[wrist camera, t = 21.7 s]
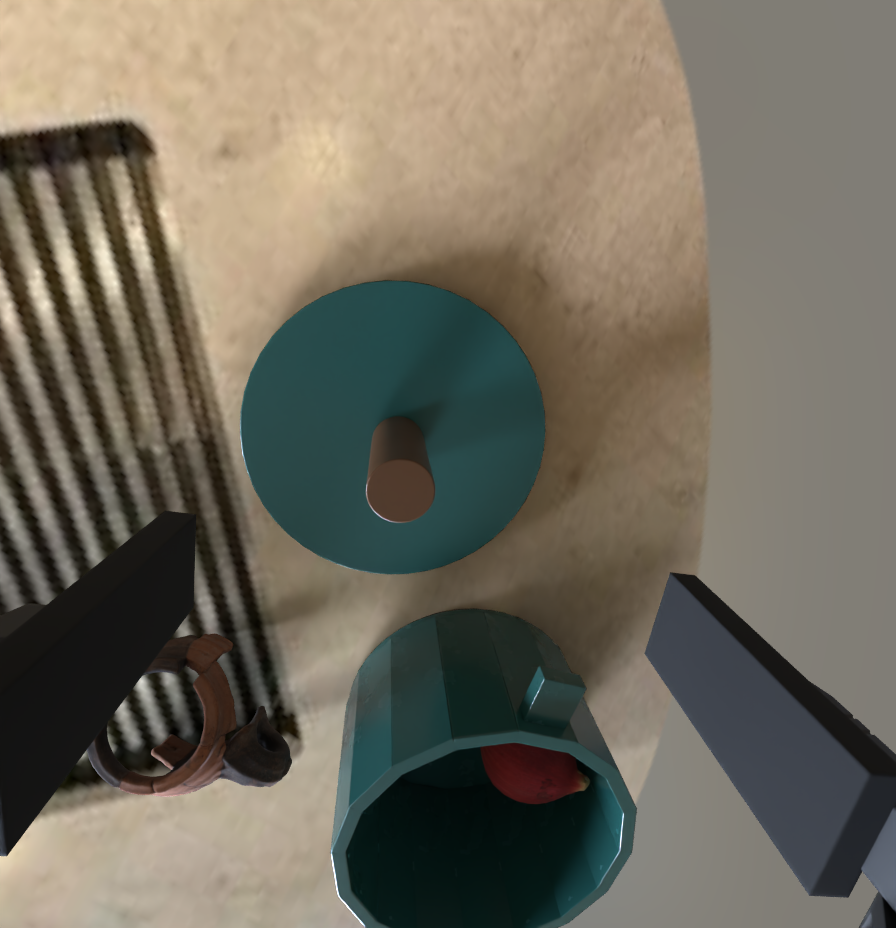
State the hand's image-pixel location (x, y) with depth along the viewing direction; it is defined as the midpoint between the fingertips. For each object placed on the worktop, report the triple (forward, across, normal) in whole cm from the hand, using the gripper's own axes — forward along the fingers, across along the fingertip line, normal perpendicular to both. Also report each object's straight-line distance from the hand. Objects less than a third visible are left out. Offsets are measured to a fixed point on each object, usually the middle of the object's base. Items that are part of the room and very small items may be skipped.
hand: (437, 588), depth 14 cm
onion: (+17, +7, -20) cm, 27 cm away
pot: (+18, +6, -20) cm, 28 cm away
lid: (+17, -2, 0) cm, 17 cm away
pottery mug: (+18, -11, -20) cm, 29 cm away
